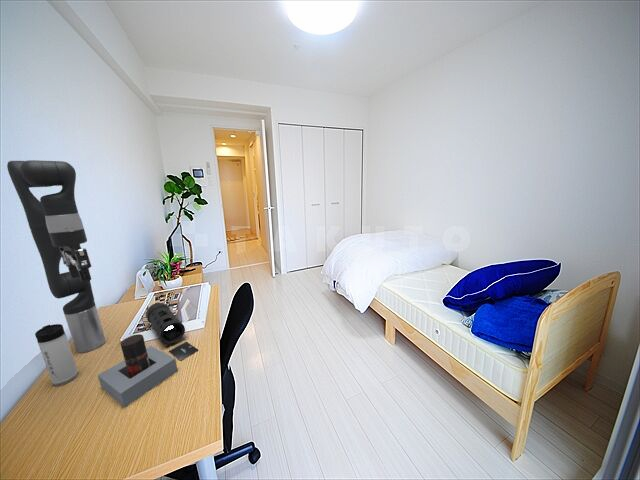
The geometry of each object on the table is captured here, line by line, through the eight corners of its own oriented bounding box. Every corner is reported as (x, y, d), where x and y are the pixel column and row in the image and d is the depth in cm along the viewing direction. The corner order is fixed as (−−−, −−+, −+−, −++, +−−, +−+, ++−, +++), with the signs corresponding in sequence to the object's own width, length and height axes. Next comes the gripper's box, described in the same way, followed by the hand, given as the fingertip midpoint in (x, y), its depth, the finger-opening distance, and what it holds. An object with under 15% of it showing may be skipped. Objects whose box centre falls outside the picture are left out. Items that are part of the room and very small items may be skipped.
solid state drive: (186, 342, 100) (186, 341, 100) (198, 351, 95) (198, 349, 95) (168, 352, 95) (168, 351, 95) (180, 362, 89) (180, 360, 89)
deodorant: (129, 378, 82) (119, 340, 79) (150, 369, 86) (141, 332, 83) (132, 388, 78) (121, 348, 74) (154, 377, 82) (144, 339, 78)
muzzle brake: (162, 351, 96) (157, 328, 93) (147, 325, 115) (142, 305, 113) (188, 339, 102) (183, 317, 100) (169, 317, 122) (165, 298, 119)
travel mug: (75, 369, 88) (58, 320, 83) (81, 376, 84) (64, 325, 80) (50, 381, 83) (31, 330, 78) (56, 389, 79) (36, 336, 75)
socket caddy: (101, 388, 79) (97, 375, 78) (153, 357, 92) (150, 345, 91) (124, 407, 71) (120, 393, 70) (177, 370, 84) (175, 358, 83)
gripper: (41, 230, 73) (57, 280, 77) (57, 232, 66) (73, 287, 70) (74, 226, 79) (87, 272, 83) (92, 228, 72) (105, 278, 76)
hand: (81, 279), depth 76 cm, fingers open, 8 cm apart
